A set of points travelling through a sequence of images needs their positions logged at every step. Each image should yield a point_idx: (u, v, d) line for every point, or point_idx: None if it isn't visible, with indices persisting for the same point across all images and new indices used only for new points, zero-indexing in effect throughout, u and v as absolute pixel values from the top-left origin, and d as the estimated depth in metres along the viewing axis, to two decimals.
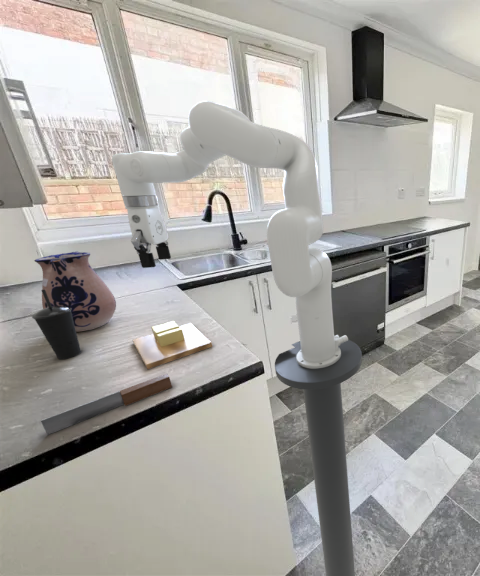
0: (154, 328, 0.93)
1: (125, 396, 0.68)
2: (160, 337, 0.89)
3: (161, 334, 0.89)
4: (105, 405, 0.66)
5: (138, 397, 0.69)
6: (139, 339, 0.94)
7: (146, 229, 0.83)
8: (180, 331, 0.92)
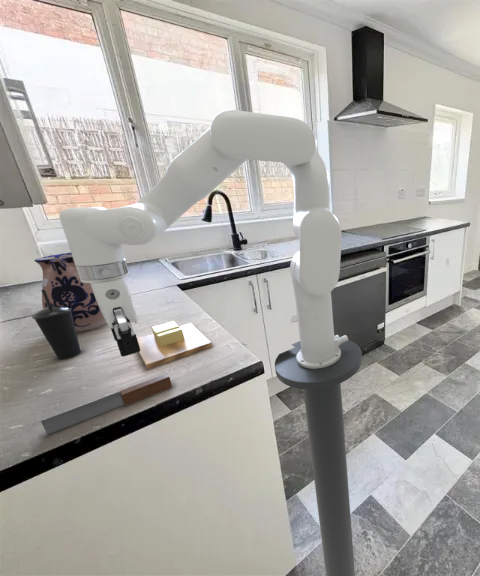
0: (154, 328, 0.93)
1: (125, 396, 0.68)
2: (160, 337, 0.89)
3: (161, 334, 0.89)
4: (105, 405, 0.66)
5: (138, 397, 0.69)
6: (139, 339, 0.94)
7: (127, 305, 0.62)
8: (180, 331, 0.92)
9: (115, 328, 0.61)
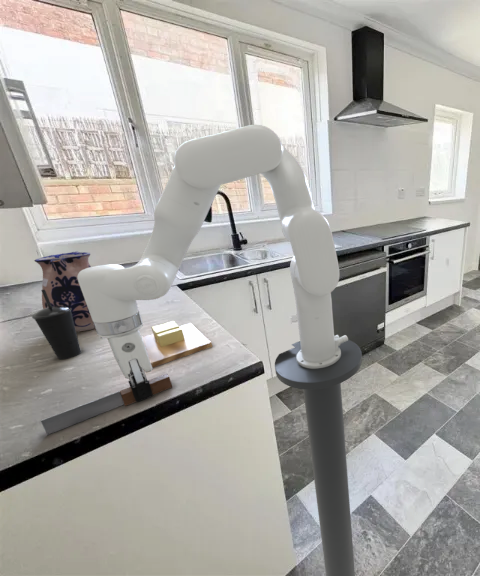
0: (154, 328, 0.93)
1: (125, 396, 0.68)
2: (160, 337, 0.89)
3: (161, 334, 0.89)
4: (105, 405, 0.66)
5: None
6: None
7: (142, 356, 0.65)
8: (180, 331, 0.92)
9: (131, 379, 0.66)
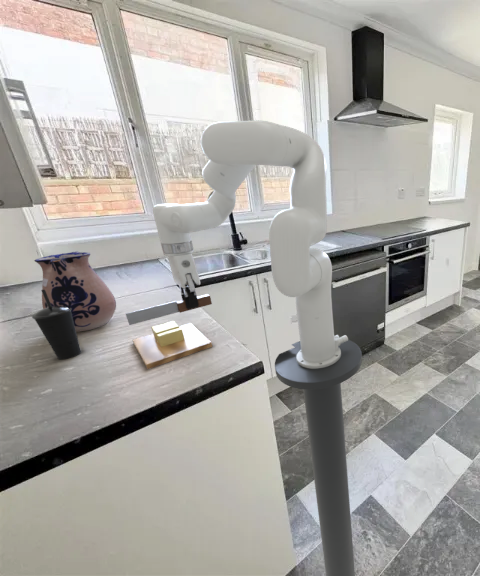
0: (154, 328, 0.93)
1: (180, 305, 0.92)
2: (160, 337, 0.89)
3: (161, 334, 0.89)
4: (166, 310, 0.91)
5: None
6: (139, 339, 0.94)
7: (194, 272, 0.89)
8: (180, 331, 0.92)
9: (185, 290, 0.91)
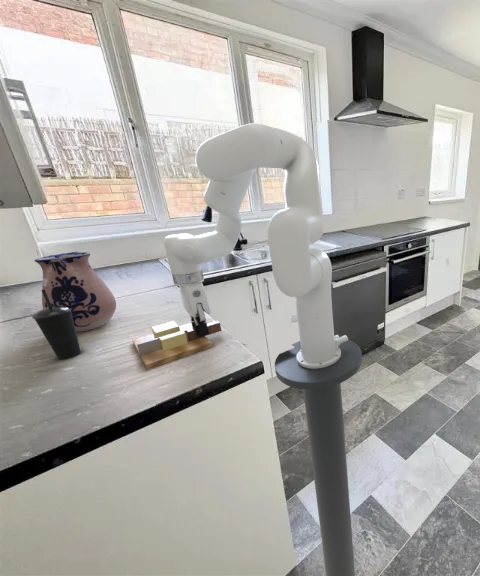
0: (154, 328, 0.93)
1: (190, 333, 0.92)
2: (163, 341, 0.86)
3: (164, 338, 0.87)
4: None
5: None
6: (139, 339, 0.94)
7: (205, 301, 0.89)
8: (183, 335, 0.90)
9: (195, 319, 0.91)
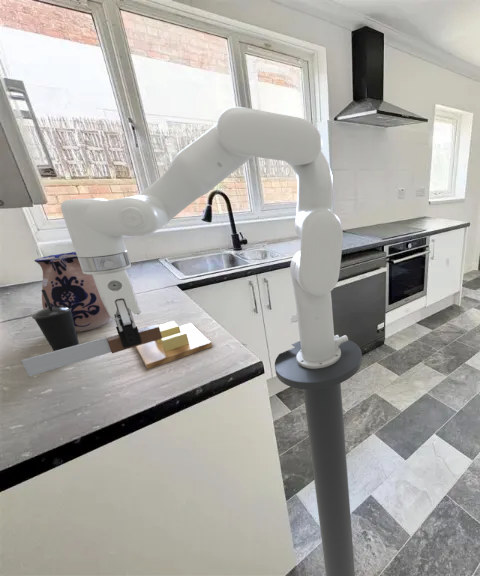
0: None
1: (111, 343, 0.65)
2: (164, 341, 0.86)
3: (165, 338, 0.87)
4: (91, 351, 0.63)
5: None
6: None
7: (129, 296, 0.62)
8: (184, 335, 0.89)
9: (118, 322, 0.63)
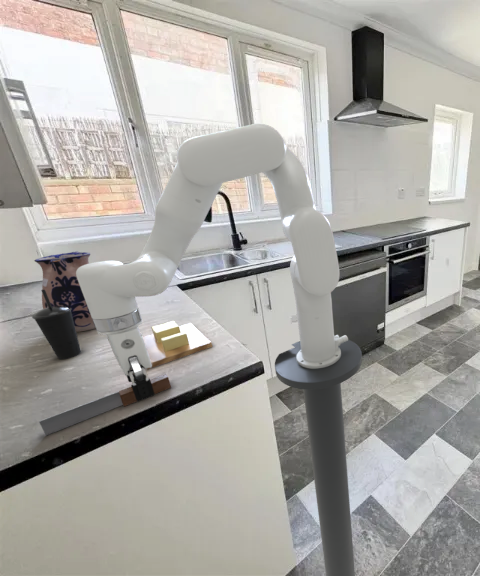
0: (154, 328, 0.93)
1: (123, 396, 0.67)
2: (164, 341, 0.86)
3: (165, 338, 0.87)
4: (104, 405, 0.66)
5: None
6: None
7: (141, 352, 0.65)
8: (184, 335, 0.89)
9: (130, 375, 0.64)
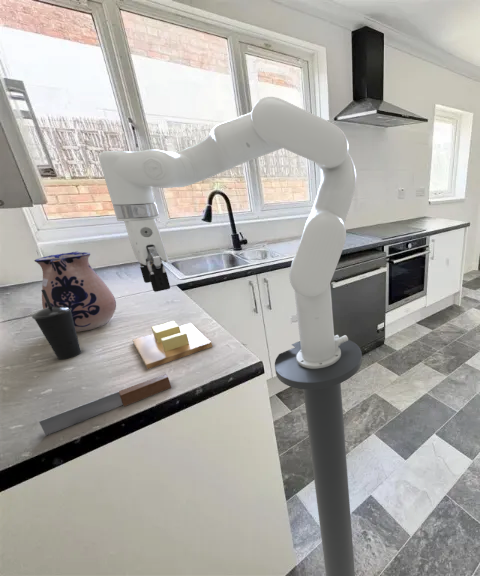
0: (154, 328, 0.93)
1: (123, 396, 0.67)
2: (164, 341, 0.86)
3: (165, 338, 0.87)
4: (104, 405, 0.66)
5: (137, 397, 0.69)
6: (139, 339, 0.94)
7: (159, 243, 0.68)
8: (184, 335, 0.89)
9: (148, 264, 0.68)
